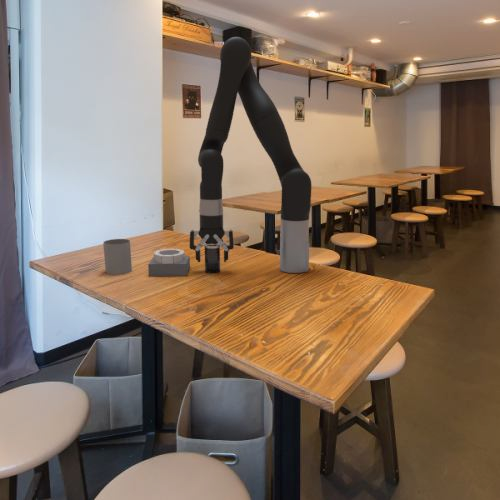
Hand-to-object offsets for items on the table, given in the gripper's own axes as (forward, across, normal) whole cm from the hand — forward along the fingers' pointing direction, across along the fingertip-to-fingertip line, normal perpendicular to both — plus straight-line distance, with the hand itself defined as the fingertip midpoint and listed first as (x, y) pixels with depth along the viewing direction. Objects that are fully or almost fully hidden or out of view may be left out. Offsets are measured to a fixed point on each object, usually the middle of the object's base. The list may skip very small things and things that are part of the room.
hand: (212, 261), depth 142 cm
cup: (+4, +31, -1) cm, 31 cm away
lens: (+3, 0, 0) cm, 3 cm away
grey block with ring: (+3, +14, 0) cm, 14 cm away
